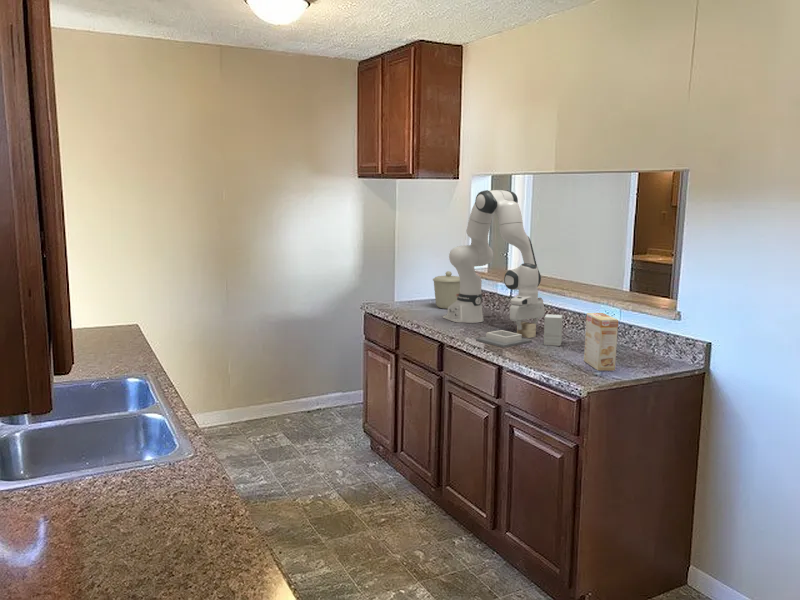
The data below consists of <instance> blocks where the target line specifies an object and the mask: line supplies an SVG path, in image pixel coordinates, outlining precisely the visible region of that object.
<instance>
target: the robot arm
mask: <svg viewBox="0 0 800 600" xmlns="http://www.w3.org/2000/svg"><path fill="white" fill-rule="evenodd" d="M518 200H519V199H518V196H517V194H516V193H515V192H513V191H510V190H502V189H492V190H482V191H480V192H478V193H477V195H476V196H475V200H474V203H473V206H472V208H471V210H470V211H471V212H470V215H469V218H468V222H467V226H466V227H467V228H466V234H467V236H468V237H469V238H470V241H471V242H470V244H468V245H467V244H466V245H459V246H456V247H455V246H454V247H453V248H452V249H450V251H449V253H448V255H449V256H448V257H449V259H448V260H449V262H450V264H451V265H452V266H453V267H454V268H455V269H456V271H457V273H458V277H459V279H460V293H459V294H456V295H457V296H458V298H457V300H456V301H455V302H454V303H453V304H451V305H450V306H449V307H448V309H447V314H444V315H443V316H442V319H445V320H448V321H451V322H454V323H467V324H472V323H473V324H475V323H483V322H484V320H485V319H484V316H483V315H484V314H483V305H482V302H483V293H482V283H483V282H482V277H481V276H480V275H478V274H477V273H476V271H475V267H484V266H486V265H489V264H491V263H492V261H493V259H494V251H493V248H491V246H490V245H489V235H490V234H489V233H490V229H491V226H492V225H491V224H492V219H493V216H494V215H496V216H497V218H498V230H499V236H500V237H501V239H502V240H503V241H504V242H505V243H507V244H509V245H511V246H514V247H515V248H517V249H518V250H519V251H520V253H521V256H522V262H523V263H520V265H519V266H518V267H516V268H512V269H508V270H507V271H506V273H505V274H504V277H503V282H504V285H505V287H506V288H507V289H508V290H512V291H515V290H517V291H518V293H517V295H515V296H514V297H512V298H511V299H510V304H511V305H510V307H509V319H510V321H512V322H515V324H516V327H517V326H518V330H522V329H523V326H521V322H522V321H526V320H533V322H532V323H533V324H536V325H537V324H538V321H539V318H544V317H545V305H544V300H543V298H542V297H539V290H538V287H539V286H540V284H541V281H542V275H541V273H540V271H539V267H538V264H537V260H536V256H535V253H534V248H533V244H532V240H531V239H530V236H528V235H527V233H526V231H525V229H524V223H523V216H522V211H521V208H520V205H519V204H518V203H519V201H518Z"/></svg>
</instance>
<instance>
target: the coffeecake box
mask: <svg viewBox="0 0 800 600" xmlns="http://www.w3.org/2000/svg"><path fill="white" fill-rule="evenodd" d="M618 328H619V319H618V318H615V317H613V316H610V315H608V314H606V313H604V312H586V318H585V336H584V337H585V338H584V353H583V354H584V356H583V362H585V363H586V364H587V365H589V366H590V367H592V368H593V369H595V370H596V371H599V372H600V371H601V372H602V371H603V372H605V371H606V372H607V371H608V372H612V371H613V372H614V371H616V361H617V348H618V347H617V346H618V345H617V343H618V333H619V332H618V330H619V329H618Z"/></svg>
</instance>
